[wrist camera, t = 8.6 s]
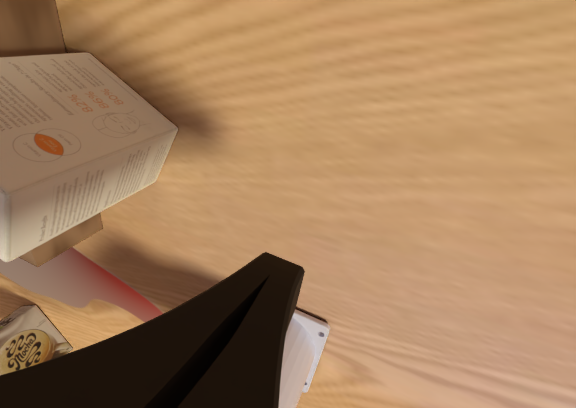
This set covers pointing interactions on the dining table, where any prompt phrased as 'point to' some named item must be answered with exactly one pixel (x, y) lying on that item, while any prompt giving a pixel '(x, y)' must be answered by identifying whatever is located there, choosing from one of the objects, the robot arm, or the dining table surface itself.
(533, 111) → the dining table surface
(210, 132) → the dining table surface
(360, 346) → the dining table surface
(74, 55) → the small box
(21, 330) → the coffee box
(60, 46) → the walnut board
